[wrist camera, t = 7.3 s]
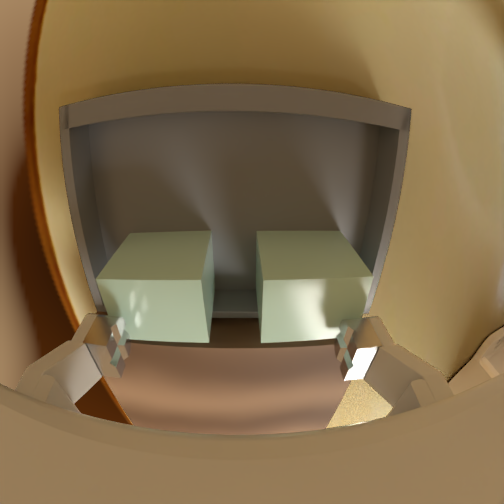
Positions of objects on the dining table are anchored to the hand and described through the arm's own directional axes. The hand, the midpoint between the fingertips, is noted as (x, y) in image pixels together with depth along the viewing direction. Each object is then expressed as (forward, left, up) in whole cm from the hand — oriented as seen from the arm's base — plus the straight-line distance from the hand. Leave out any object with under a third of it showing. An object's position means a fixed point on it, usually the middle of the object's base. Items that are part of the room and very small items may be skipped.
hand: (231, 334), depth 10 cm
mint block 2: (-2, +2, -2) cm, 4 cm away
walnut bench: (+5, +9, -5) cm, 11 cm away
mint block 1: (+3, 0, -2) cm, 4 cm away
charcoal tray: (-1, -3, -5) cm, 6 cm away
